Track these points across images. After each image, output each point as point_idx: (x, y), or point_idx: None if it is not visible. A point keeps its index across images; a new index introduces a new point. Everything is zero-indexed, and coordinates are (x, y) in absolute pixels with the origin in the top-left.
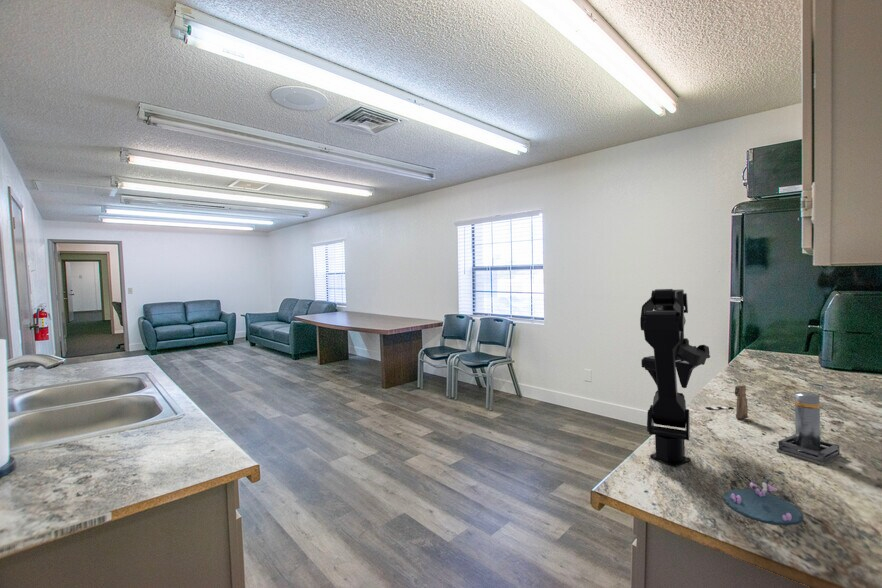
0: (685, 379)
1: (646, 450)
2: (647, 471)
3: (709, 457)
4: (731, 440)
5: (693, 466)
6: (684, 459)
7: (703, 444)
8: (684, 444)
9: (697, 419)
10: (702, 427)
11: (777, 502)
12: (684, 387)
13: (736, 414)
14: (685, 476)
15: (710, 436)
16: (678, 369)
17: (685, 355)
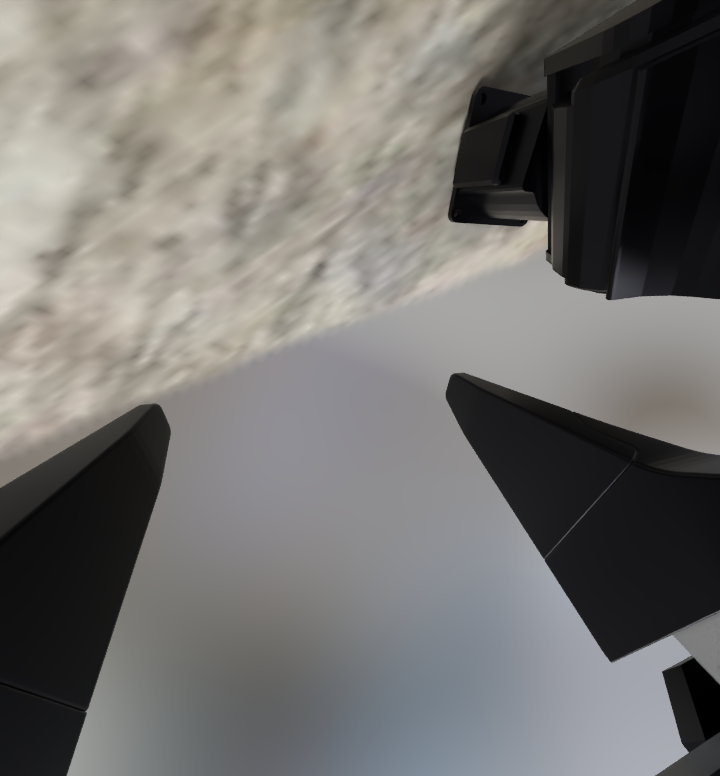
0: (106, 479)
1: (474, 268)
2: None
3: (381, 43)
4: (47, 69)
5: (512, 52)
6: (498, 107)
7: (264, 161)
8: (496, 117)
9: (12, 370)
10: (75, 295)
11: None
12: (161, 413)
13: None
14: None
15: (136, 198)
16: (71, 692)
17: None
